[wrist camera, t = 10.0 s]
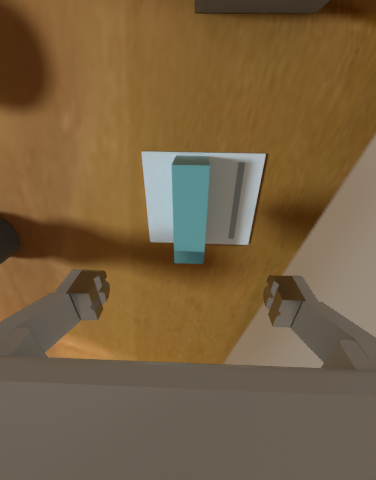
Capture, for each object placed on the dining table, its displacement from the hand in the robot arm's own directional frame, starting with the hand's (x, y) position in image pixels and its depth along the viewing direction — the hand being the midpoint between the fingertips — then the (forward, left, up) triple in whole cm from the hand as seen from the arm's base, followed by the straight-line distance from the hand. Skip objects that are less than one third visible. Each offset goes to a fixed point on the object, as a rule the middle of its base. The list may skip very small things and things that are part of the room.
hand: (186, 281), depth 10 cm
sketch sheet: (0, +1, -12) cm, 12 cm away
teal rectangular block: (0, 0, -12) cm, 12 cm away
